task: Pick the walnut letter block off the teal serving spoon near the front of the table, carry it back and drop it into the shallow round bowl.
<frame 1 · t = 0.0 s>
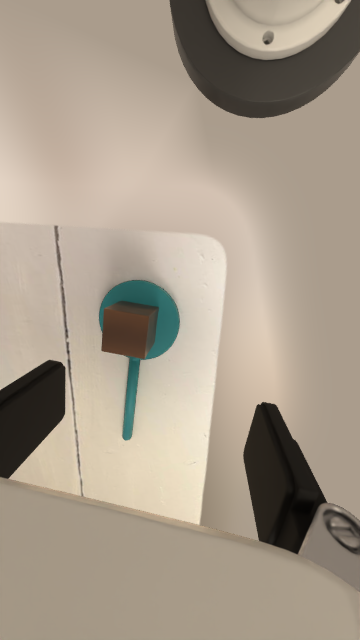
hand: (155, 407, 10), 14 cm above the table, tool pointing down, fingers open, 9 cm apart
block: (138, 322, 24), point 1 cm above the table, touching spoon
spoon: (140, 320, 25), on the table, touching block
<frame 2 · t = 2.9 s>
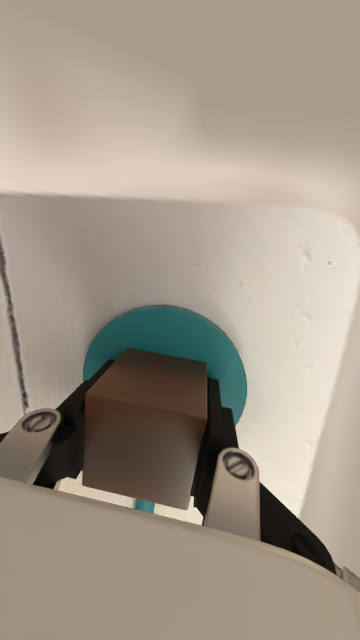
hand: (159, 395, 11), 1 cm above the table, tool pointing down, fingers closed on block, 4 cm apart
block: (161, 389, 12), point 1 cm above the table, touching gripper, spoon
spoon: (164, 381, 13), on the table, touching block
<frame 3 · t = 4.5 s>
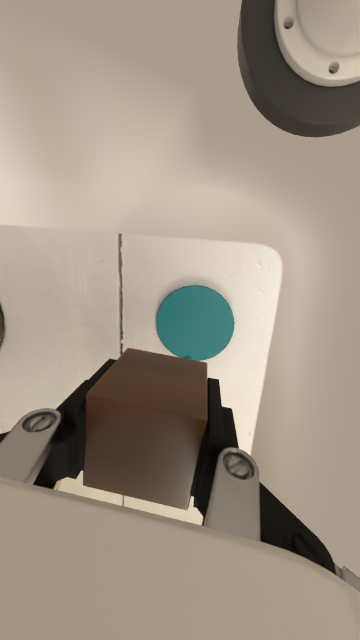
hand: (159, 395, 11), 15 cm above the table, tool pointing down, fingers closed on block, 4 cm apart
block: (161, 389, 12), point 15 cm above the table, touching gripper
spoon: (194, 323, 26), on the table
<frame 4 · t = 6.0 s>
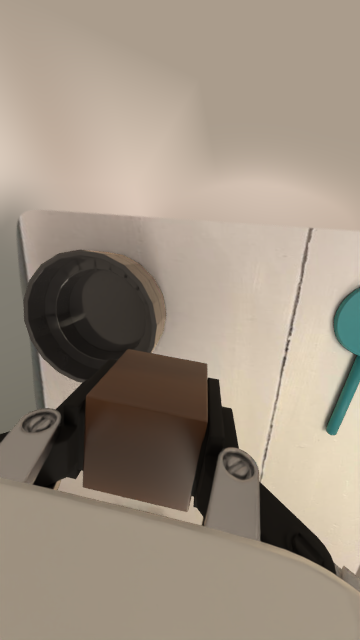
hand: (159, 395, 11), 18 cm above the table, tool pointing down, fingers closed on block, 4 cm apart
block: (162, 390, 12), point 17 cm above the table, touching gripper
shallow round bowl: (111, 311, 29), on the table
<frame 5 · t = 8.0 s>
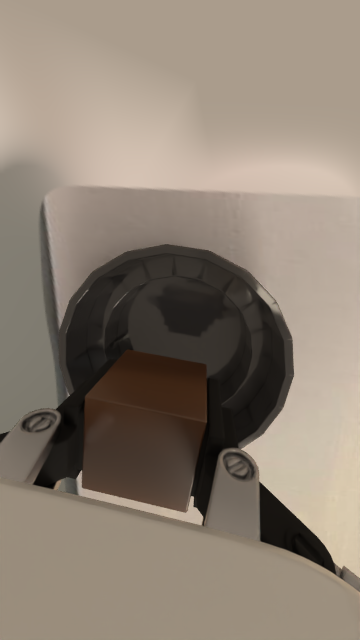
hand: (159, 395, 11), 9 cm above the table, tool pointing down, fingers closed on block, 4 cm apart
block: (161, 391, 12), point 8 cm above the table, touching gripper
shallow round bowl: (180, 337, 20), on the table
when the fingers open (5 cm above the table, at t = 9.4 s): block drops 4 cm, resting on shallow round bowl.
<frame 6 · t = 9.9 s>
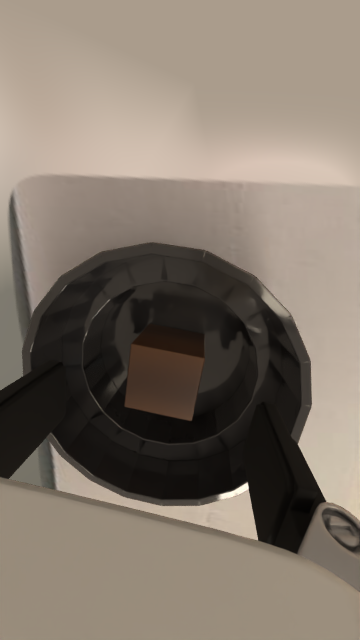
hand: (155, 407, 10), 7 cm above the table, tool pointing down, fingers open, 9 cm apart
block: (172, 354, 17), resting on shallow round bowl
shallow round bowl: (173, 351, 17), on the table
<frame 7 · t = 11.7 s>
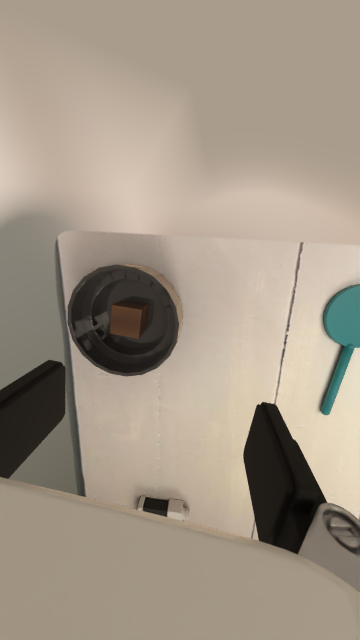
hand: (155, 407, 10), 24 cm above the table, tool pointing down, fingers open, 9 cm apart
block: (134, 315, 34), resting on shallow round bowl
shallow round bowl: (135, 314, 35), on the table
camera: (164, 524, 46), on the table
spoon: (357, 316, 31), on the table
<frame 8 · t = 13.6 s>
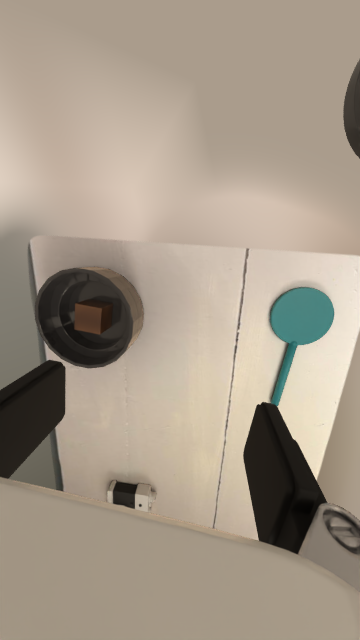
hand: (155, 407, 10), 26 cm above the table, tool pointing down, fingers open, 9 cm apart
block: (100, 312, 37), resting on shallow round bowl
shallow round bowl: (101, 312, 38), on the table
camera: (134, 507, 49), on the table
spoon: (300, 316, 34), on the table
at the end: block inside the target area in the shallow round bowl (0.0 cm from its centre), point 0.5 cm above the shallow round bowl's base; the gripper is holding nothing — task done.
